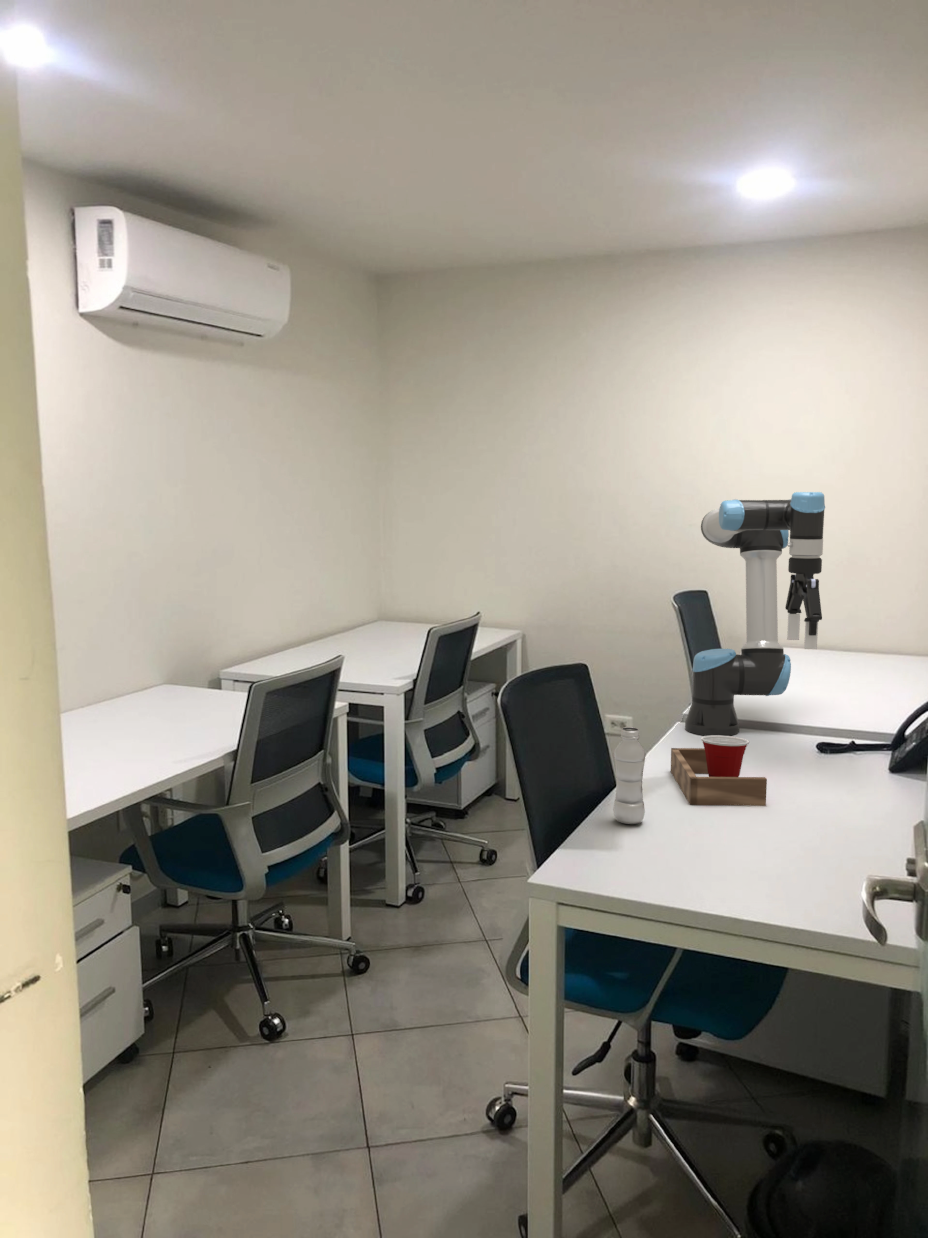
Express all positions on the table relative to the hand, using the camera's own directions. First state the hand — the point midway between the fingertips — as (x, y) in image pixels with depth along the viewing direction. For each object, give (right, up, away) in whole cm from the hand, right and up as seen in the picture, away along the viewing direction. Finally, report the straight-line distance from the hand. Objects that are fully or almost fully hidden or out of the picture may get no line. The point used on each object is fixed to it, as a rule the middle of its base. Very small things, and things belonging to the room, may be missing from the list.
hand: (801, 644), depth 230 cm
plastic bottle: (-47, -37, -31) cm, 68 cm away
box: (-22, -33, -9) cm, 41 cm away
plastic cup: (-21, -34, -9) cm, 41 cm away
